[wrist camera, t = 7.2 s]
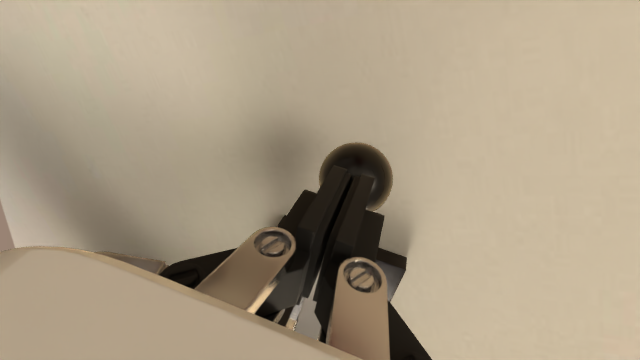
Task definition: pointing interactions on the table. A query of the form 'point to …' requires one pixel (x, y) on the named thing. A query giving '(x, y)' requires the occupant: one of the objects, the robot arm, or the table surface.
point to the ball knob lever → (356, 162)
